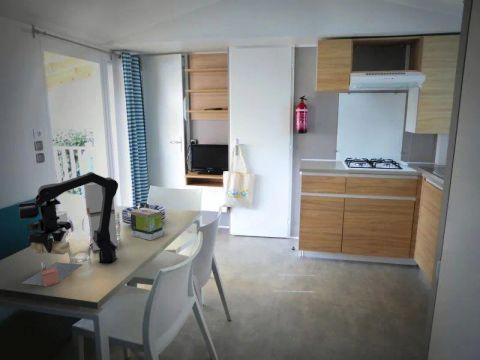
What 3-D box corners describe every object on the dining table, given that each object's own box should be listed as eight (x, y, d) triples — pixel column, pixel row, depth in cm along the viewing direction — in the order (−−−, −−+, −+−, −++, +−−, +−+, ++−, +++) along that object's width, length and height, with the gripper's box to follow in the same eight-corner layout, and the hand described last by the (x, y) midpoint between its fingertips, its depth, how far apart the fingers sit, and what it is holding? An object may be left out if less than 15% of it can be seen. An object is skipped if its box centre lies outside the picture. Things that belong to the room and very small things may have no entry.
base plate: (83, 265, 155) (83, 264, 155) (51, 287, 136) (51, 286, 136) (55, 263, 158) (55, 262, 158) (21, 284, 139) (21, 283, 138)
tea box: (163, 235, 193) (162, 210, 190) (150, 241, 185) (148, 214, 182) (144, 230, 201) (143, 206, 198) (131, 235, 193) (129, 210, 190)
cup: (62, 243, 181) (59, 214, 178) (49, 242, 183) (45, 214, 180) (73, 238, 189) (70, 210, 186) (60, 237, 191) (56, 209, 187)
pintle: (47, 271, 149) (46, 261, 148) (44, 272, 147) (43, 262, 146) (44, 270, 149) (42, 261, 148) (41, 272, 148) (40, 262, 147)
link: (70, 250, 147) (69, 241, 146) (62, 255, 142) (61, 246, 141) (40, 247, 149) (39, 239, 149) (31, 252, 144) (30, 243, 144)
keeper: (58, 284, 139) (57, 271, 138) (45, 288, 136) (43, 274, 135) (56, 280, 142) (54, 267, 141) (42, 283, 139) (41, 270, 138)
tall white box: (112, 242, 182) (107, 178, 175) (117, 249, 174) (112, 182, 167) (90, 247, 176) (83, 181, 169) (93, 254, 168) (87, 184, 161)
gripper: (48, 208, 153) (52, 241, 156) (13, 221, 135) (19, 258, 138) (70, 209, 151) (73, 243, 154) (38, 223, 133) (43, 260, 136)
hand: (53, 250), depth 145 cm, fingers closed on link, 4 cm apart
